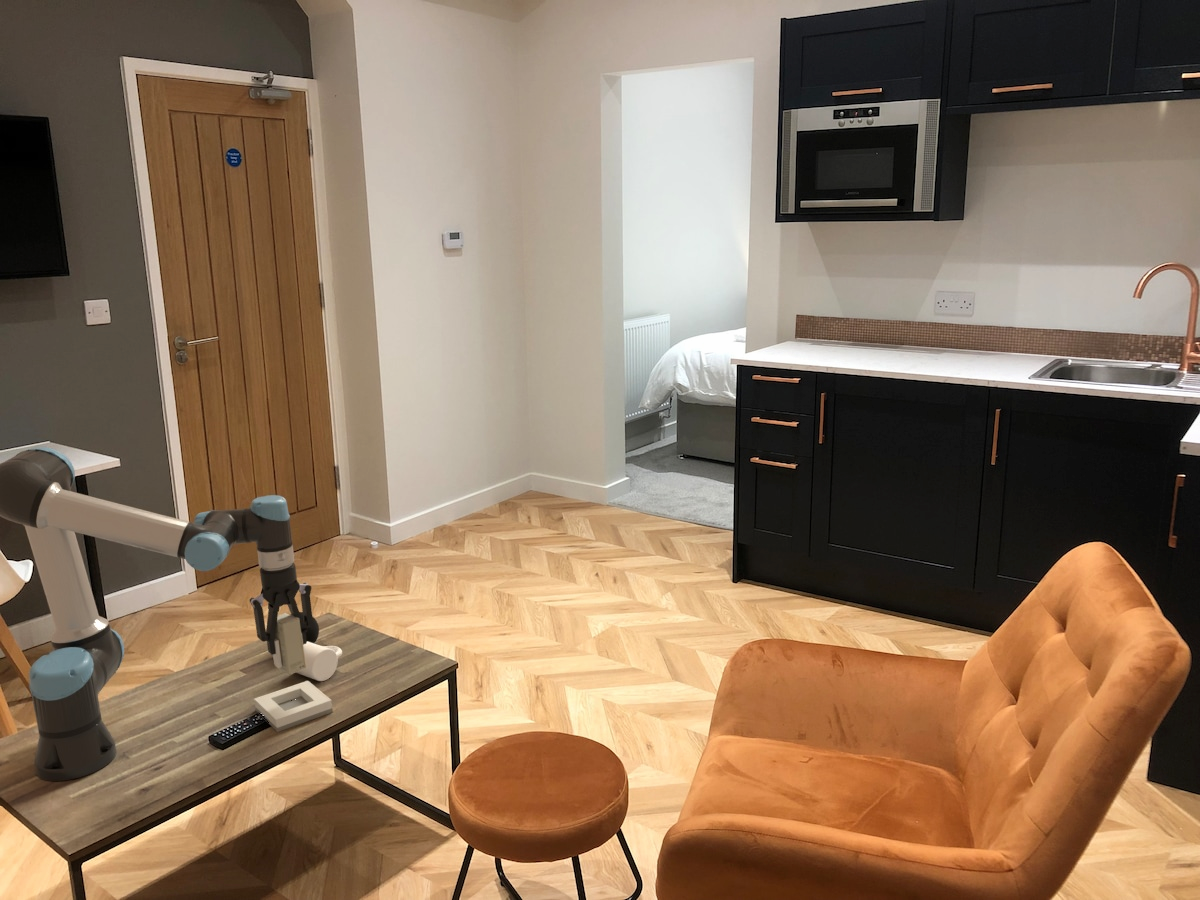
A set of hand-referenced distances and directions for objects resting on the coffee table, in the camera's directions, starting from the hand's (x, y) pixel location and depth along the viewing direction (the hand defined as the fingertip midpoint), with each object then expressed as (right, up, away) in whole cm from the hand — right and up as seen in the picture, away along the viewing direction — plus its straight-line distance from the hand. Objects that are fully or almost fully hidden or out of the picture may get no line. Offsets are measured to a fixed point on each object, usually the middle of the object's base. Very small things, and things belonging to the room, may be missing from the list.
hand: (289, 661), depth 221 cm
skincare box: (0, -2, 0) cm, 2 cm away
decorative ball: (-8, -5, +35) cm, 37 cm away
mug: (0, -8, +22) cm, 23 cm away
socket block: (0, -12, +3) cm, 12 cm away
